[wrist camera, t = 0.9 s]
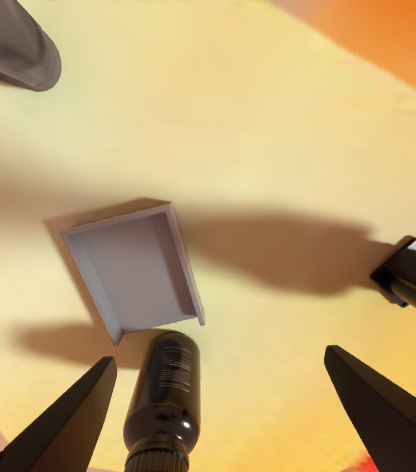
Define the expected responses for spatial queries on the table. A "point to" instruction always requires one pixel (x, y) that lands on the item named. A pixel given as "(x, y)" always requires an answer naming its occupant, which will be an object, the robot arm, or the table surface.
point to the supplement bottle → (164, 407)
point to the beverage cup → (26, 50)
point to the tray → (136, 270)
